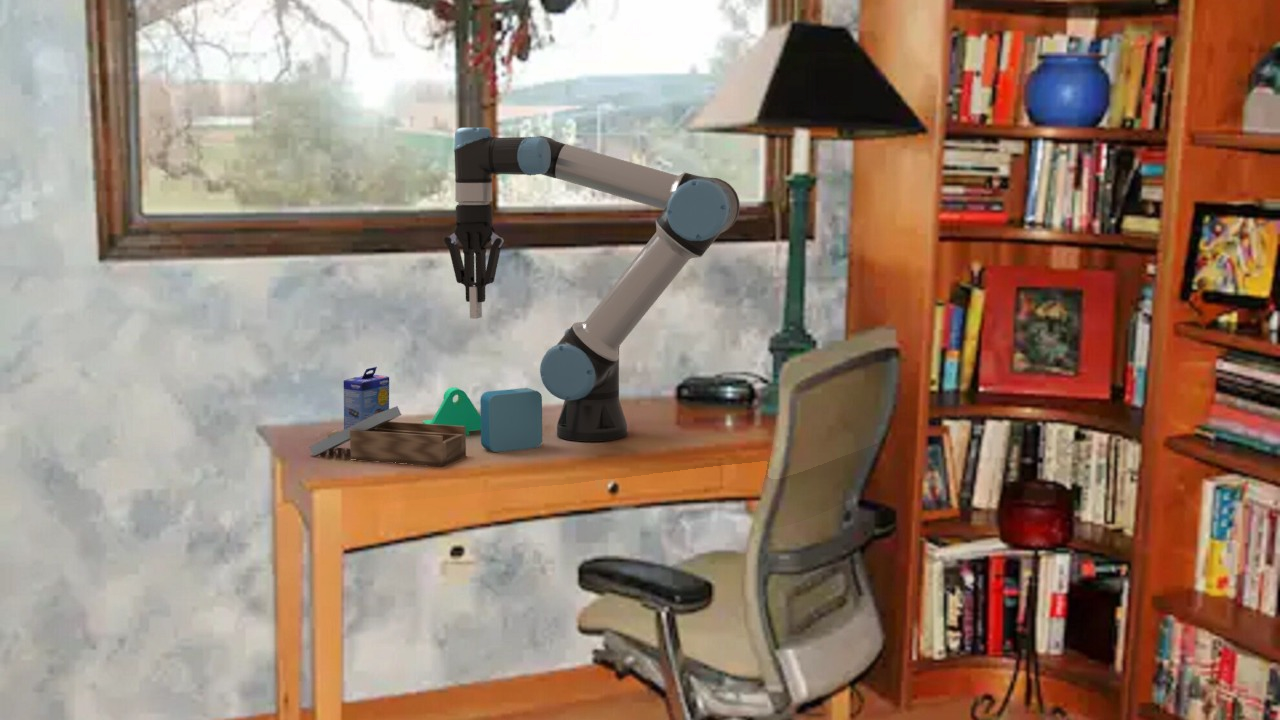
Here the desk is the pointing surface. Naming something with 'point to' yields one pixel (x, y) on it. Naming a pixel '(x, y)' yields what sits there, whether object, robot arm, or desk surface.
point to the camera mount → (457, 412)
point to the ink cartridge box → (365, 397)
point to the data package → (511, 419)
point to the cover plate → (342, 437)
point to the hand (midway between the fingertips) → (475, 317)
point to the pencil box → (409, 443)
